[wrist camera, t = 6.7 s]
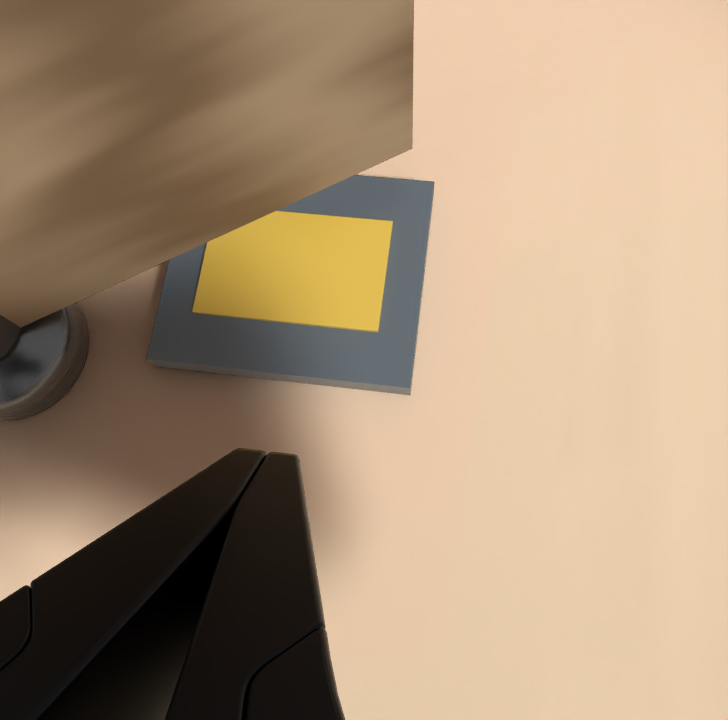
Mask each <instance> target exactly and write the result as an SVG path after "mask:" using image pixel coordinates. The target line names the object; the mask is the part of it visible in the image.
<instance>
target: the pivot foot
mask: <svg viewBox="0 0 728 720" xmlns="http://www.w3.org/2000/svg"><path fill="white" fill-rule="evenodd" d="M88 344H89V336H88V328H87V324H86V321H85V318H84V316H83V314H82V312H81V310H80V309H79V307H78V306H77V305H76V303H73V304H71V305H69V306H67V307H65V308H62V309H60V310H58V311H56V312H54V313H52V314H49V315H47V316H45V317H43V318H41V319H38V320H36V321H34V322H32V323H30V324H28V325H25V326H23V327H21V329H20V332H19V335H18V337H17V339H16V341H15V343H14V344H13V346H12V347H11V348H10V350H9V351H8V352H7V353H6V354H5V355H4V356H3V357H2V358H0V420H16V419H21V418H26V417H29V416H32V415H35V414H37V413H39V412H41V411H44V410H45V409H47V408H49V407H50V406H52V405H53V404H55V403H56V402H57V401H58V400H60V399H61V398H62V397H63V396H64V395H65V394H66V393H67V392H68V391H69V390H70V388H71V387H72V386H73V385H74V383H75V382H76V380H77V378H78V377H79V375H80V373H81V371H82V369H83V367H84V364H85V361H86V358H87V352H88Z"/></svg>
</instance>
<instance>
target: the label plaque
mask: <svg viewBox="0 0 728 720" xmlns="http://www.w3.org/2000/svg"><path fill="white" fill-rule="evenodd" d="M433 194H434V182H432V181H420V180H408V179H396V178H383V177H371V176H359V175H353V176H351V177H349V178H347V179H345V180H342V181H340V182H338V183H336V184H334V185H331V186H329V187H327V188H325V189H323V190H321V191H318V192H316V193H314V194H312V195H310V196H307V197H305V198H303V199H301V200H299V201H297V202H294V203H292V204H290V205H288V206H286V207H283V208H281V209H279V210H277V211H275V212H272V213H270V214H268V215H266V216H264V217H262V218H259V219H257V220H255V221H253V222H251V223H248V224H246V225H244V226H242V227H240V228H237V229H235V230H233V231H231V232H229V233H227V234H224V235H222V236H220V237H218V238H216V239H213V240H211V241H209V242H207V243H205V244H202V245H200V246H198V247H196V248H194V249H192V250H189V251H187V252H185V253H183V254H181V255H178V256H176V257H174V258H172V259H170V260H169V263H168V268H167V272H166V276H165V280H164V285H163V289H162V293H161V298H160V302H159V306H158V310H157V315H156V319H155V323H154V327H153V332H152V336H151V340H150V344H149V349H148V353H147V357H146V359H147V360H148V361H149V362H151V363H152V364H153V365H154V366H156V367H165V368H174V369H183V370H192V371H201V372H210V373H219V374H228V375H236V376H245V377H254V378H263V379H272V380H281V381H290V382H299V383H308V384H316V385H325V386H334V387H343V388H352V389H361V390H370V391H379V392H388V393H396V394H405V395H410V393H411V385H412V376H413V367H414V359H415V350H416V341H417V333H418V324H419V315H420V307H421V298H422V290H423V281H424V272H425V264H426V255H427V246H428V238H429V229H430V220H431V212H432V203H433Z"/></svg>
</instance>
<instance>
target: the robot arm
mask: <svg viewBox="0 0 728 720" xmlns="http://www.w3.org/2000/svg"><path fill="white" fill-rule="evenodd" d="M0 720H345V718H344V714H343V711H342V707H341V704H340V700H339V696H338V692H337V687H336V682H335V677H334V672H333V668H332V663H331V658H330V651H329V645H328V638H327V632H326V630H325V621H324V615H323V608H322V602H321V595H320V589H319V583H318V576H317V570H316V563H315V557H314V551H313V544H312V538H311V531H310V525H309V519H308V512H307V506H306V499H305V493H304V487H303V480H302V474H301V467H300V461H299V458H298V456H297V455H294V454H286V453H277V452H271V453H269V454H268V455H267V453H266V452H265V451H261V450H253V449H245V448H238V449H236V450H234V451H232V452H231V453H229V454H228V455H226V456H224V457H223V458H221V459H220V460H218V461H217V462H215V463H214V464H212V465H211V466H209V467H207V468H206V469H204V470H203V471H201V472H200V473H198V474H197V475H195V476H194V477H192V478H190V479H189V480H187V481H186V482H184V483H183V484H181V485H180V486H178V487H177V488H175V489H173V490H172V491H170V492H169V493H167V494H166V495H164V496H163V497H161V498H160V499H158V500H157V501H155V502H153V503H152V504H150V505H149V506H147V507H146V508H144V509H143V510H141V511H140V512H138V513H136V514H135V515H133V516H132V517H130V518H129V519H127V520H126V521H124V522H123V523H121V524H119V525H118V526H116V527H115V528H113V529H112V530H110V531H109V532H107V533H106V534H104V535H102V536H101V537H99V538H98V539H96V540H95V541H93V542H92V543H90V544H89V545H87V546H85V547H84V548H82V549H81V550H79V551H78V552H76V553H75V554H73V555H72V556H70V557H69V558H67V559H65V560H64V561H62V562H61V563H59V564H58V565H56V566H55V567H53V568H52V569H50V570H48V571H47V572H45V573H44V574H42V575H41V576H39V577H38V578H36V579H35V580H33V581H32V582H31V588H30V587H29V586H27V585H26V586H23V587H22V588H20V589H19V590H17V591H16V592H14V593H13V594H11V595H9V596H8V597H6V598H5V599H3V600H2V601H0Z"/></svg>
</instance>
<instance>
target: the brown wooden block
mask: <svg viewBox="0 0 728 720" xmlns="http://www.w3.org/2000/svg"><path fill="white" fill-rule="evenodd" d="M413 29H414V0H0V358H2V357H3V356H4V355H5V354H6V353H7V352H8V351H9V350H10V348H11V347H12V346H13V344H14V343H15V341H16V339H17V337H18V335H19V332H20V329H21V327H23V326H25V325H28V324H30V323H32V322H34V321H36V320H38V319H41V318H43V317H45V316H47V315H49V314H52V313H54V312H56V311H58V310H60V309H62V308H65V307H67V306H69V305H71V304H73V303H76V302H78V301H80V300H82V299H84V298H87V297H89V296H91V295H93V294H95V293H97V292H100V291H102V290H104V289H106V288H108V287H111V286H113V285H115V284H117V283H119V282H122V281H124V280H126V279H128V278H130V277H132V276H135V275H137V274H139V273H141V272H143V271H146V270H148V269H150V268H152V267H154V266H157V265H159V264H161V263H163V262H165V261H167V260H170V259H172V258H174V257H176V256H178V255H181V254H183V253H185V252H187V251H189V250H192V249H194V248H196V247H198V246H200V245H202V244H205V243H207V242H209V241H211V240H213V239H216V238H218V237H220V236H222V235H224V234H227V233H229V232H231V231H233V230H235V229H237V228H240V227H242V226H244V225H246V224H248V223H251V222H253V221H255V220H257V219H259V218H262V217H264V216H266V215H268V214H270V213H272V212H275V211H277V210H279V209H281V208H283V207H286V206H288V205H290V204H292V203H294V202H297V201H299V200H301V199H303V198H305V197H307V196H310V195H312V194H314V193H316V192H318V191H321V190H323V189H325V188H327V187H329V186H331V185H334V184H336V183H338V182H340V181H342V180H345V179H347V178H349V177H351V176H353V175H356V174H358V173H360V172H362V171H364V170H366V169H369V168H371V167H373V166H375V165H377V164H380V163H382V162H384V161H386V160H388V159H391V158H393V157H395V156H397V155H399V154H401V153H404V152H406V151H408V150H410V149H412V126H413Z"/></svg>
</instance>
